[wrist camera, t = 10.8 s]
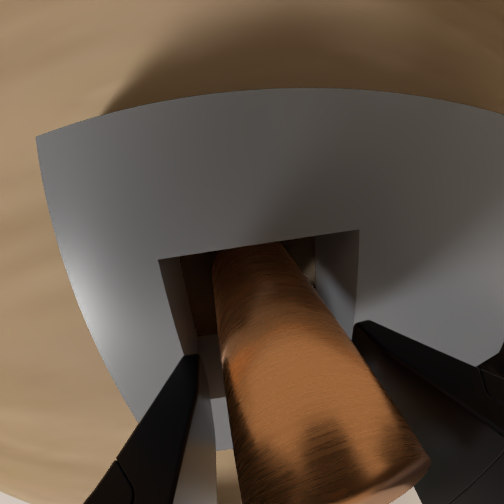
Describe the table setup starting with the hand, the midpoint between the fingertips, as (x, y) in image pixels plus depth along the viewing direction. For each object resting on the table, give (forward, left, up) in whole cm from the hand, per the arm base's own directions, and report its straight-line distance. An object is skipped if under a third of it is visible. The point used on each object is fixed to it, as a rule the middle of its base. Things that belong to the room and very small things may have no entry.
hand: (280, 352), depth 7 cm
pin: (0, 0, -5) cm, 5 cm away
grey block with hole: (-4, 0, -4) cm, 6 cm away
